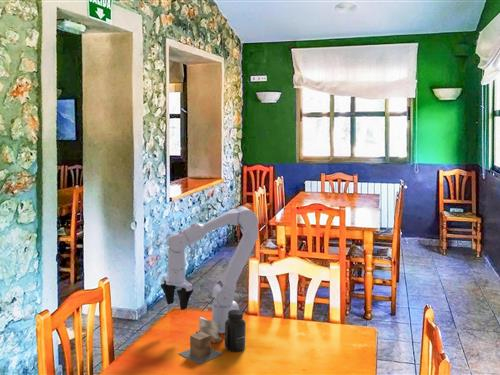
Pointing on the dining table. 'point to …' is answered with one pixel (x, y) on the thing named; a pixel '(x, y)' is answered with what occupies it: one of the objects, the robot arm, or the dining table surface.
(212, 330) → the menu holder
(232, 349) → the supplement bottle
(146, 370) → the dining table surface
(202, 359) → the coaster
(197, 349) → the walnut block
